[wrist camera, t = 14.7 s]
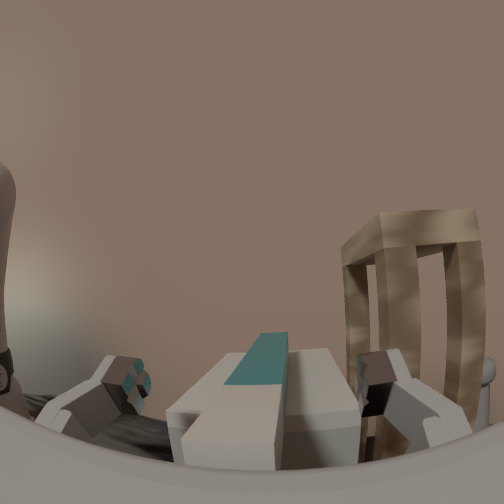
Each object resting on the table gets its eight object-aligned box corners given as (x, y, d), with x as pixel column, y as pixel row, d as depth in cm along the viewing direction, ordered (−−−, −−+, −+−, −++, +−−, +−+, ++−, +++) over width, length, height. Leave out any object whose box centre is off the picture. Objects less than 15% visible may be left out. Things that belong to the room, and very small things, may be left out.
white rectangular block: (204, 570, 11) (165, 410, 14) (239, 476, 27) (228, 352, 29) (337, 572, 10) (361, 408, 12) (325, 474, 26) (326, 348, 28)
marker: (193, 501, 6) (180, 438, 6) (262, 358, 26) (260, 333, 26) (276, 507, 6) (273, 443, 6) (288, 357, 25) (287, 331, 26)
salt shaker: (440, 478, 19) (459, 371, 20) (437, 453, 24) (449, 356, 26) (487, 469, 16) (510, 361, 18) (478, 446, 21) (494, 349, 23)
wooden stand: (360, 553, 12) (379, 212, 15) (342, 472, 26) (340, 247, 29) (439, 531, 11) (475, 208, 14) (398, 462, 25) (403, 242, 28)
